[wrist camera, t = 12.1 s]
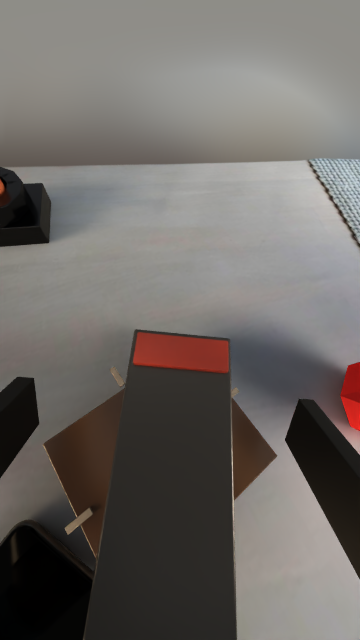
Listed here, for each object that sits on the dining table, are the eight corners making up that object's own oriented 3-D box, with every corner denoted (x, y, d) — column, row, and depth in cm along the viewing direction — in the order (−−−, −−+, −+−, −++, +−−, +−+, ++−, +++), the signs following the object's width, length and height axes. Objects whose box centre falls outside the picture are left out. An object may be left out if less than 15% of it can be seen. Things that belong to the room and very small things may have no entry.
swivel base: (134, 620, 13) (128, 672, 10) (43, 427, 17) (19, 426, 14) (279, 466, 17) (304, 474, 14) (180, 336, 21) (184, 321, 18)
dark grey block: (186, 538, 13) (244, 750, 4) (125, 534, 12) (61, 749, 4) (193, 385, 16) (232, 335, 8) (145, 380, 16) (134, 325, 7)
